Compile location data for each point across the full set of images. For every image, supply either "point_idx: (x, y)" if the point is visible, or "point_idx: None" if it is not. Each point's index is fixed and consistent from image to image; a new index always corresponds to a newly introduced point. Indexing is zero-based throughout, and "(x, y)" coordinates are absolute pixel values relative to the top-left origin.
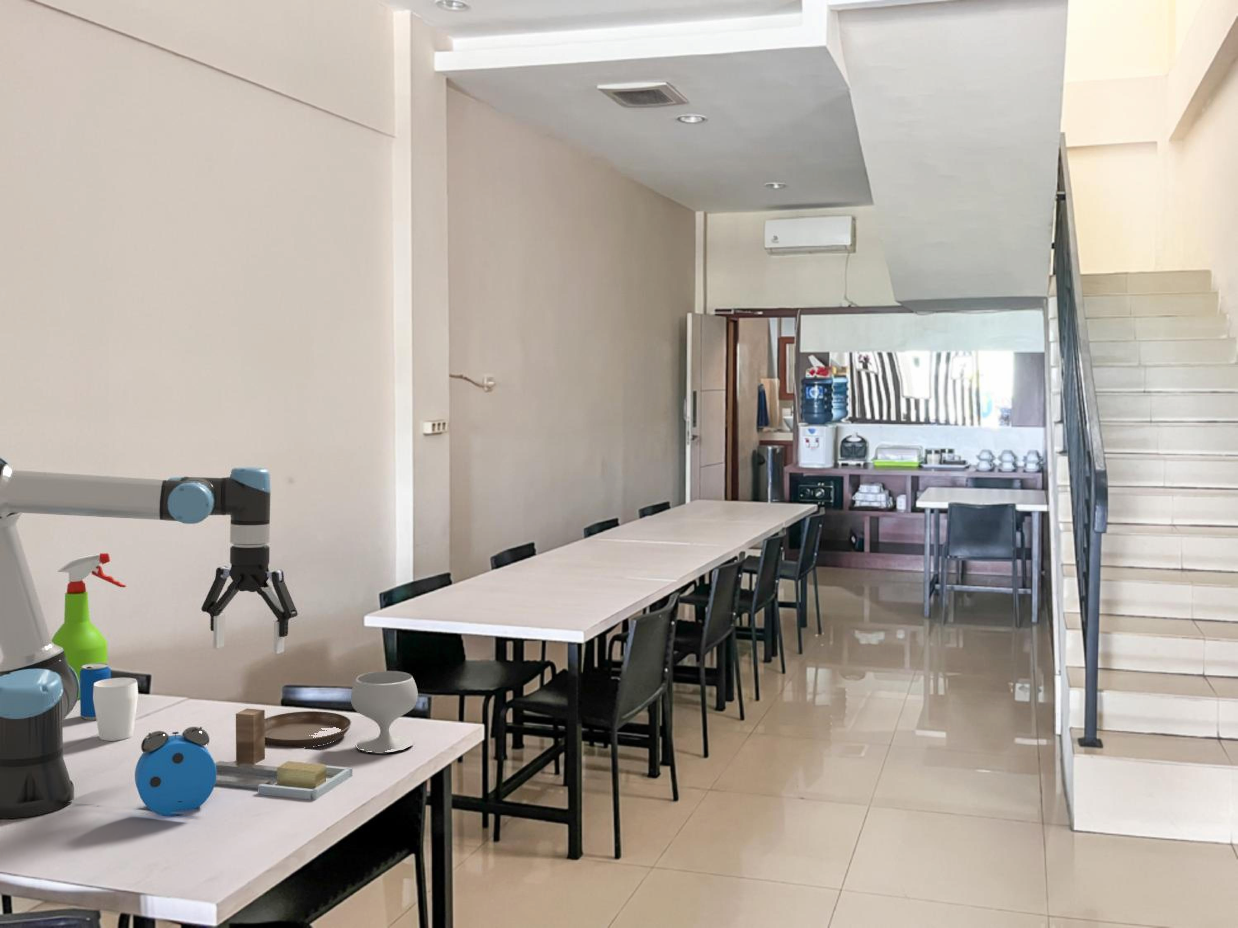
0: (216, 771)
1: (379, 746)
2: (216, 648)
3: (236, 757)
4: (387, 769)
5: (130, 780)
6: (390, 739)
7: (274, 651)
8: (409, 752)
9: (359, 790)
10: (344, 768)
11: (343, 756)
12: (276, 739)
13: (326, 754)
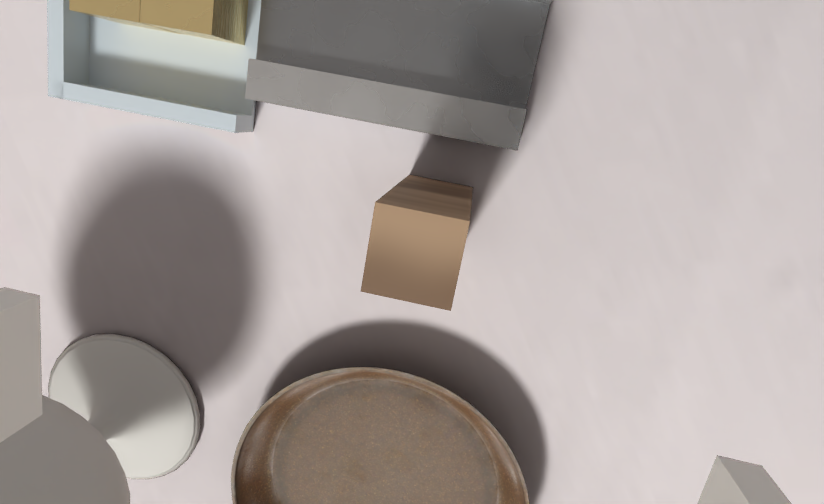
0: (503, 88)
1: (111, 370)
2: (720, 456)
3: (471, 191)
4: (32, 209)
5: (801, 9)
6: (90, 408)
7: (9, 300)
8: (42, 358)
9: (22, 10)
10: (69, 89)
11: (197, 314)
12: (405, 372)
13: (251, 329)
